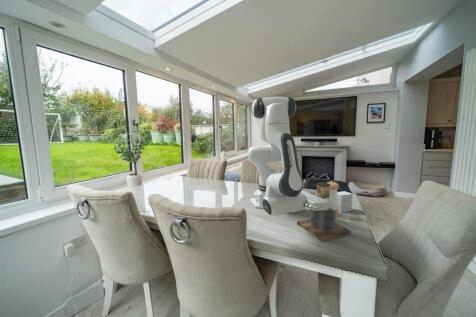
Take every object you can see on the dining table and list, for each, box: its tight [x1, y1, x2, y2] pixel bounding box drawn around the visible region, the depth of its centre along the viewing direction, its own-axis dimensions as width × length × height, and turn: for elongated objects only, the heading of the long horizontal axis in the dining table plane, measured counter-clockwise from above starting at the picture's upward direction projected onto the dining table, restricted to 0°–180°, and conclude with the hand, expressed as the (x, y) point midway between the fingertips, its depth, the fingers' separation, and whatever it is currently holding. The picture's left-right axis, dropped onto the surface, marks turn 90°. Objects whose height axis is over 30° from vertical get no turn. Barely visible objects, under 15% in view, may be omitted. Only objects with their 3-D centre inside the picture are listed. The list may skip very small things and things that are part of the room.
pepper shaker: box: [327, 180, 340, 217], centre depth 112 cm, size 7×7×19 cm
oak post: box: [316, 181, 330, 212], centre depth 95 cm, size 4×4×21 cm
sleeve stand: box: [296, 208, 351, 243], centre depth 96 cm, size 18×16×10 cm
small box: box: [337, 190, 353, 214], centre depth 117 cm, size 8×6×10 cm
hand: (321, 196), depth 94 cm, fingers open, 8 cm apart
